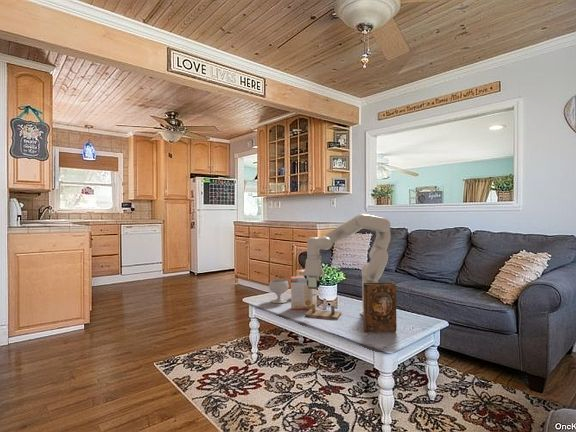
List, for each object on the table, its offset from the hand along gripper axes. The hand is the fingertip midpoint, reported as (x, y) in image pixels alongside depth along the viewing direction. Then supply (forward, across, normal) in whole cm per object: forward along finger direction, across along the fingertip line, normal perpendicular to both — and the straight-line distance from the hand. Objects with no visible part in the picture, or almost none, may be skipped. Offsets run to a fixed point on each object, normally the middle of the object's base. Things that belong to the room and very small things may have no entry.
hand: (313, 286), depth 216 cm
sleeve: (+1, 0, 0) cm, 1 cm away
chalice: (+18, +32, -23) cm, 43 cm away
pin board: (+17, -6, 0) cm, 18 cm away
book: (+17, -41, +18) cm, 48 cm away
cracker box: (+18, +11, -11) cm, 24 cm away
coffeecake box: (+18, +19, -48) cm, 55 cm away
